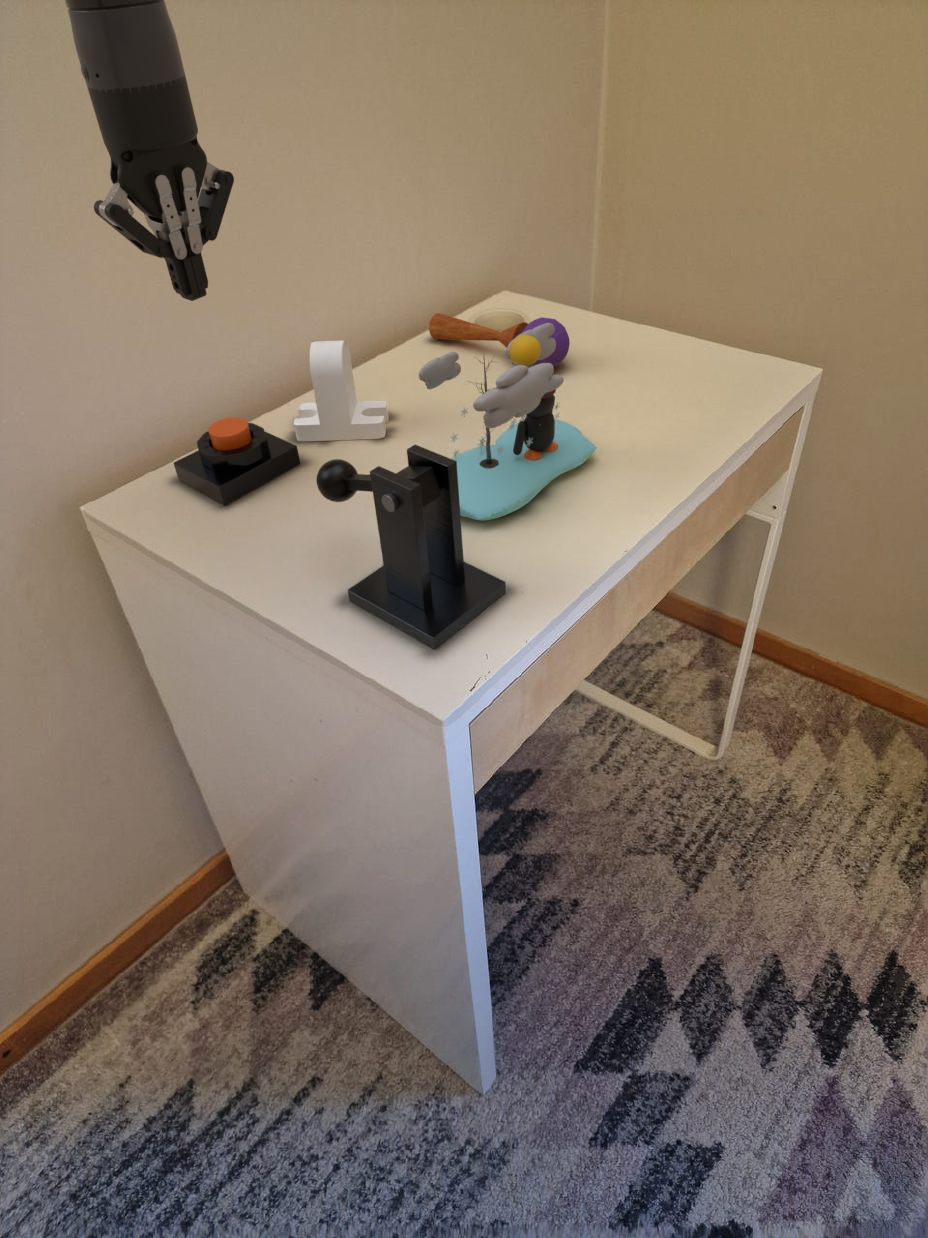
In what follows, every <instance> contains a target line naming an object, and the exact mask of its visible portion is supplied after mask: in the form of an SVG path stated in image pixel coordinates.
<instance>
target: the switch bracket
mask: <svg viewBox="0 0 928 1238" xmlns="http://www.w3.org/2000/svg"><path fill="white" fill-rule="evenodd" d="M406 455H407V456H406V457H407V466H424V467H433V470H434V473H435V476H436V479H437V482H438V485H439V488H440V491H441V496H440V497H438V498H437V499H435V500H434V501H432V502H431V503H429V504H428V505H426V506H425V507H423V505H422V495H421V486H420V484H419V483H416V482H414V481H412V480H409V479H407V478H405V477H403V476H400V475H398V474H396V473H397V472H396V473H395V472H393V471H391V470H389V469H386V468H384V467H383V466H380V465H378V466H376V467H375V468H373V469H371V470H370V471H369V475H370V477H371V484H372V490H373V492H372V495H373V496H372V497H373V503H374V511H375V518H376V523H377V530H378V536H379V544H380V551H381V558H382V563H383V564H382V566H379V568H377V569H376V570H374V571H373V572H372V573H370V574H369V575H367V576H366V577H364V578H363V579H361V580H359V581H358V582H357V583H355V584H354V585H353V586H351V587H350V588H348V589H347V595H348V600H349V601H350V602H351V603H353V604H355V605H357V606H358V607H360V608H362V609H364V610H365V611H367V612H369V613H370V614H372V615H373V616H376V617H377V618H379V619H381V620H382V621H384V622H386V623H388V624H390V625H391V626H393V627H394V628H397V629H398V630H399V631H402V632H403V633H405V634H407V635H409V636H410V637H412V638H414V639H416V640H417V641H419V642H421V643H423V644H424V645H426V646H428V647H430V648H432V649H433V650H436V649H437V648H438V647H440V646H441V645H442V644H444V643H445V642H446V641H447V640H448V639H449V638H452V636H453V635H454V634H456V633H457V632H459V631H460V630H461V629H462V628H464V627H465V626H466V625H468V624H469V623H470V622H471V621H472V620H473V619H475V618H476V617H477V616H479V615H480V614H481V613H482V612H484V611H485V610H486V609H487V608H488V607H490V606H491V605H493V604H494V603H495V602H496V601H498V600H499V599H500V598H501V597H502V596H503V595H505V594H506V592H507V584H506V583H507V582H506V581H505V580H503V579H501V578H498V577H497V576H495V575H492V574H490V573H488V572H486V571H485V570H482V569H480V568H478V567H476V566H474V565H472V564H470V563H468V562H465V561H464V560H465V559H464V549H463V548H464V547H463V546H464V545H463V531H462V519H461V518H462V516H460V503H459V488H458V474H457V462H456V461H455V460H452V458H449V457H447V456H445V455H443V454H440V453H438V452H435V451H432V450H430V449H428V448H425V447H423V446H420V445H418V444H413V445H412V446H410V447H408V448H407V449H406Z"/></svg>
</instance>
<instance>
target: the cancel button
mask: <svg viewBox="0 0 928 1238" xmlns="http://www.w3.org/2000/svg"><path fill="white" fill-rule="evenodd" d="M248 423H249V422H248V420H246V419H244V418H241V417H226V418H222V419H219V420H216V421H215V422H213V423H211V425H209V427H208V431H209V435H210V438H211V442H212V445H213V447H214V448H215V449H216V450H232V449H237V448H241V447H243V446H245V445H247V444H249V443H250V442H251V439H252V438H251V433H250V429H249V425H248Z"/></svg>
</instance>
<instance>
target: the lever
mask: <svg viewBox="0 0 928 1238" xmlns="http://www.w3.org/2000/svg"><path fill="white" fill-rule="evenodd" d="M396 474H398V475H400V476H403V477H405V478H407V479H409V480H412V481H414V482H416V483H419V484H420V486H421V495H422V505H423V507H425V506H426V505H428V504H429V503H431V502H432V501H434V500H435V499H437V498H438V497H440V496H441V491H440V488H439V485H438V482H437V479H436V476H435V473H434V470H433V467H424V466H408V465H407V466H406V467H404V468H403V469H401V470H399V471H397V472H396ZM315 480H316V486H317V487H316V488H317V489H318V492H319V493H320V494H321V495H322V496H323V497H324V498H325V499H326V500H327V501H330V502H333V503H343V502H346V501H348V500H351V499H352V498H353V497H354V496H355V495H356V493H357V492H368V493H369V492H371V493H373V490H372V484H371V477H370V474H365V473H364V474H363V473H358V471H357V469H356V468H355V466H354V465H353V464H352V463H351V462H349V461H346V460H345V459H339V458H335V459H330V460H328V461H326V462H325V463H323V464H322V465H321V466H320V468H319V469H318V470H317V473H316V479H315Z"/></svg>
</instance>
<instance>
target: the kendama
mask: <svg viewBox="0 0 928 1238" xmlns="http://www.w3.org/2000/svg"><path fill="white" fill-rule="evenodd" d="M545 323H551V324H553V326H554V329H555V330H554V333H553V334H552V335H551V336H550V337H552V338H554V339H555V341H556V348H555V351H554V352H553V353H552V354H551V355H550V356H548V357H546V358H544V359H542V360H537V361H536V362H535V363H534V364H533V365H531V366H530V367H532V366H535V365H537V364H541V363H551V364H552V365H553V368H556V367H558V366H559V365H560V364H561V363H562V362H563V361H564V360H565V358H566V357H567V356H568V353H569V350H570V337H569V334H568V331H567V329H566V327H565V326H564V325H563V324H562V323H561V322H560V321H558V320H557V319H556V318H552V317H551V318H549V317H542V316H541V317H538V318H536V319H533V320H532V321H530V322H529V323H528V322H526V321H522V322H520V323H517V324H515V325H513V326H510V327H508V328H506V329H505V328H504V329H503V330H500V331H499V330H496V329H493V328H489V327H486V326H483V325H480V324H478V323H477V324H476V323H474V322H470V321H467V320H463V319H460V318H456V317H453V316H450V315H447V314H444V313H441V312H436V313H434V314H433V315H432V316H431V317H430V320H429V323H428V331H429V334H430V337H431V338H432V339H434V340H447V341H448V340H449V341H450V340H454V341H493V342H500V343H501V345H503V346H504V347H505V348H506V349H507V347H508V345H509V343H510V342H511V341H512V340H513V339H514V338H516V337H517V336H518V335H520V334H521V333H523V332H525V331H527V330H530V329H531V330H532V329H533V328H535V327H537V326H540V325H542V324H545Z"/></svg>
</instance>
